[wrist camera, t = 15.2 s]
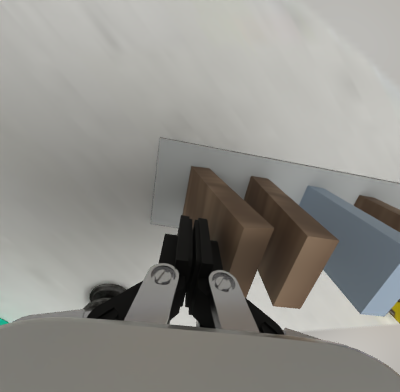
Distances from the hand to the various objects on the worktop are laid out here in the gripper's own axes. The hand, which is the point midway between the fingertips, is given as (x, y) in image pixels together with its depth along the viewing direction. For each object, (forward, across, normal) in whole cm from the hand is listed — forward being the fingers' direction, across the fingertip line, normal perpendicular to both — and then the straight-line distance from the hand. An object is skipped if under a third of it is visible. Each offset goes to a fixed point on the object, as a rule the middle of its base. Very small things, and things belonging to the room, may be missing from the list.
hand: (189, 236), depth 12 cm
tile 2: (+8, -6, 0) cm, 10 cm away
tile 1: (+8, 0, 0) cm, 8 cm away
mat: (+8, -12, 0) cm, 15 cm away
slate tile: (+8, -12, 0) cm, 15 cm away
